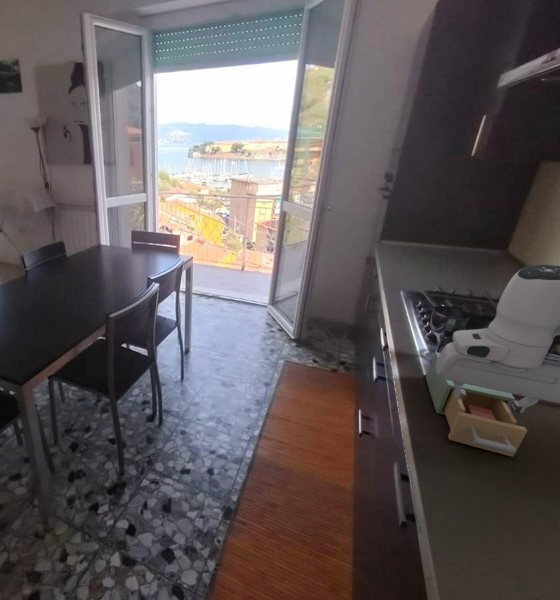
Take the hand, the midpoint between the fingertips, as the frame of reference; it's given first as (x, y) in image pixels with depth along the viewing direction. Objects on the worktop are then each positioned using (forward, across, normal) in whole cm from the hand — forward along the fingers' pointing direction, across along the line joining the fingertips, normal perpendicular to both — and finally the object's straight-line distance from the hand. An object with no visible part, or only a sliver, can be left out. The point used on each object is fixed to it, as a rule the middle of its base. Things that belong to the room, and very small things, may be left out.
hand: (486, 404), depth 74 cm
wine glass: (+9, +2, -31) cm, 32 cm away
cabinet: (+8, 0, -11) cm, 14 cm away
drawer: (+7, 0, +1) cm, 7 cm away
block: (+6, 0, 0) cm, 6 cm away
